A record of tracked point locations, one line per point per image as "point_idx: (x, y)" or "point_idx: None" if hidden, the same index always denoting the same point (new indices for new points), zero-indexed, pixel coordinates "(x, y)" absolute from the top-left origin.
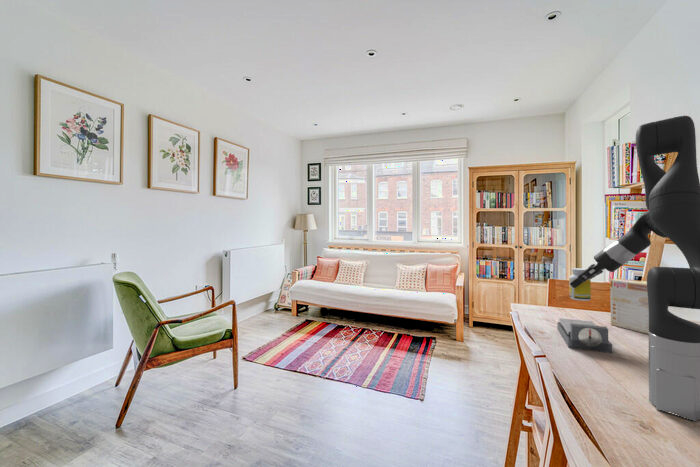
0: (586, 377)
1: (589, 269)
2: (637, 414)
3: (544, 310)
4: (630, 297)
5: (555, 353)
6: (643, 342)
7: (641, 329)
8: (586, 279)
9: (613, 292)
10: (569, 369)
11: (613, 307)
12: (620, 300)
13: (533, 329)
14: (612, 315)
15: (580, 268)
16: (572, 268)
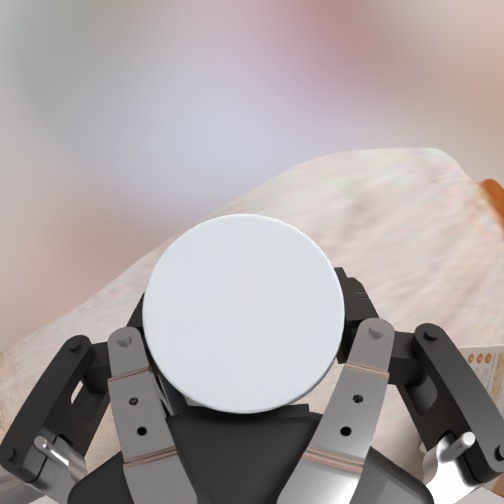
0: (36, 376)
1: (11, 442)
2: (7, 421)
3: (437, 175)
4: (500, 412)
5: (88, 315)
6: None
7: None
8: (80, 402)
9: None
10: (42, 351)
11: (481, 356)
12: (496, 379)
13: (228, 213)
14: (465, 352)
15: (325, 303)
16: (242, 216)
